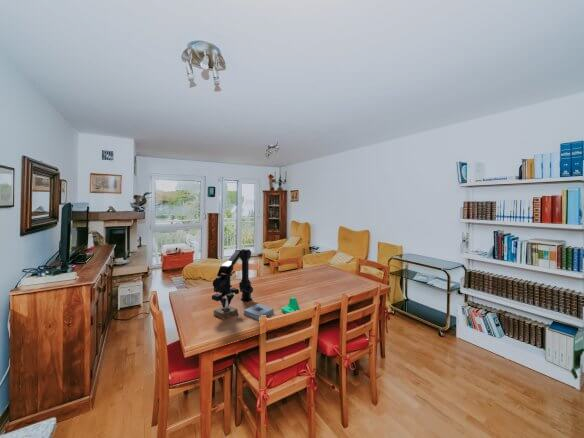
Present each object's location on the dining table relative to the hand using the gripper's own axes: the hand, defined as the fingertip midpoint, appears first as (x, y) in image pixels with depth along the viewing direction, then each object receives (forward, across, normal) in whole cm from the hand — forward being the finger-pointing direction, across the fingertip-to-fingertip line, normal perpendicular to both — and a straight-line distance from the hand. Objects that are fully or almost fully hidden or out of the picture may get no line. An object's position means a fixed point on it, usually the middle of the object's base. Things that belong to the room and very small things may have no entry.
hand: (225, 306), depth 167 cm
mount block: (+5, 0, 0) cm, 5 cm away
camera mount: (+5, -28, +33) cm, 44 cm away
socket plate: (+5, -14, +17) cm, 23 cm away
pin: (+5, 0, 0) cm, 5 cm away
